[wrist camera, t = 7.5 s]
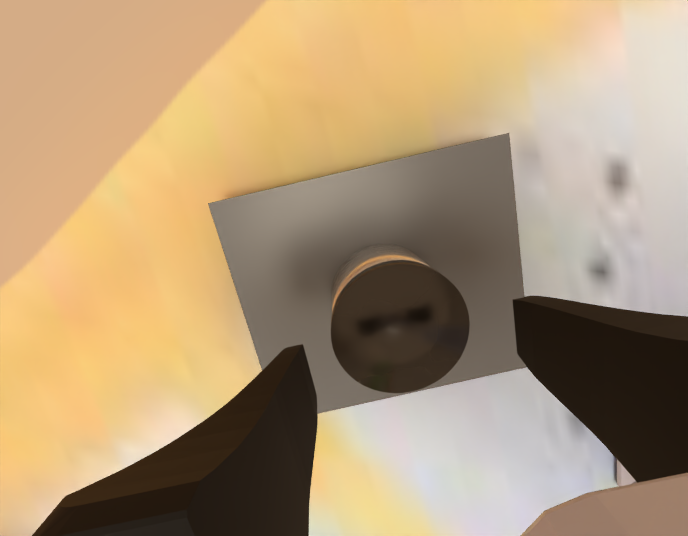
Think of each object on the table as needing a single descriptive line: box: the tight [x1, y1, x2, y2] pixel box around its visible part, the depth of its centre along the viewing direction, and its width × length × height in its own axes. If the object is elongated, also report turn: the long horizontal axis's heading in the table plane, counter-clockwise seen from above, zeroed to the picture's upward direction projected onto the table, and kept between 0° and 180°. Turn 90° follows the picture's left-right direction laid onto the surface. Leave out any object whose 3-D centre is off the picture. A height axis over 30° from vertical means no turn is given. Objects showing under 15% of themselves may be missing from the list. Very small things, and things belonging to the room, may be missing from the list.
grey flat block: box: [208, 133, 527, 414], centre depth 18 cm, size 14×12×3 cm
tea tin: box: [331, 244, 470, 393], centre depth 15 cm, size 5×5×4 cm
